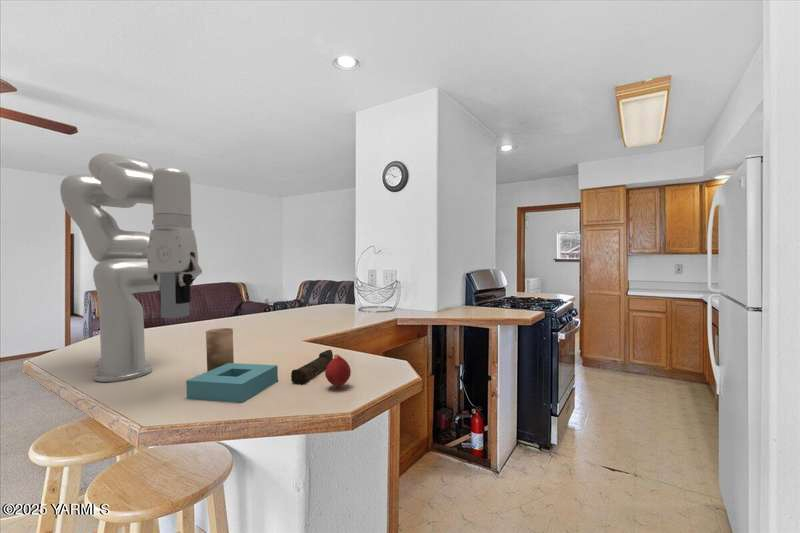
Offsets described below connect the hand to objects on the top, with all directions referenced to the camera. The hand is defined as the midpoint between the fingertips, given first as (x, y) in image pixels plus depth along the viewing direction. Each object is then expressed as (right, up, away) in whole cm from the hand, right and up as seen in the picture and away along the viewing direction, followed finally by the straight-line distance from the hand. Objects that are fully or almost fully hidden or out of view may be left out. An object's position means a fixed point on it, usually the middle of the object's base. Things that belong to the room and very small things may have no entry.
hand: (175, 302), depth 86 cm
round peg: (+4, -21, +13) cm, 25 cm away
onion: (+38, -20, +1) cm, 43 cm away
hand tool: (+29, -21, +13) cm, 38 cm away
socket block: (+13, -21, +2) cm, 25 cm away
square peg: (0, -3, 0) cm, 3 cm away
